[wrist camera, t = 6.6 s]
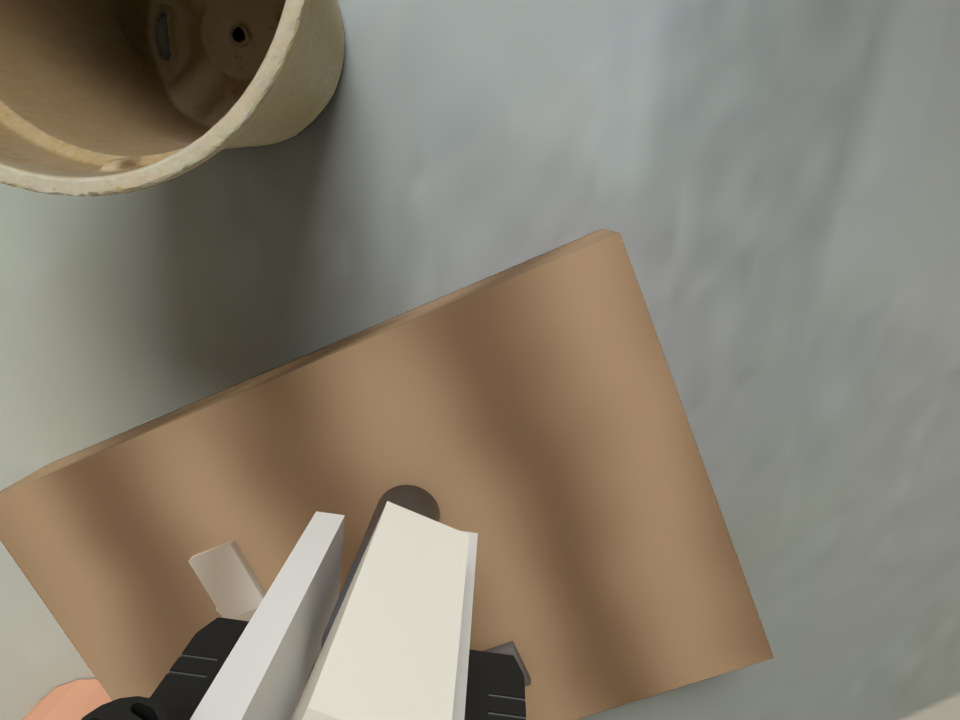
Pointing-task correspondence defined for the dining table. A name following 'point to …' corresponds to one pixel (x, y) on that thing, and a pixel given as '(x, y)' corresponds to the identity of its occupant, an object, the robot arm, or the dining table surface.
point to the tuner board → (435, 468)
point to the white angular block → (394, 620)
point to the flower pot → (154, 86)
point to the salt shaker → (70, 701)
